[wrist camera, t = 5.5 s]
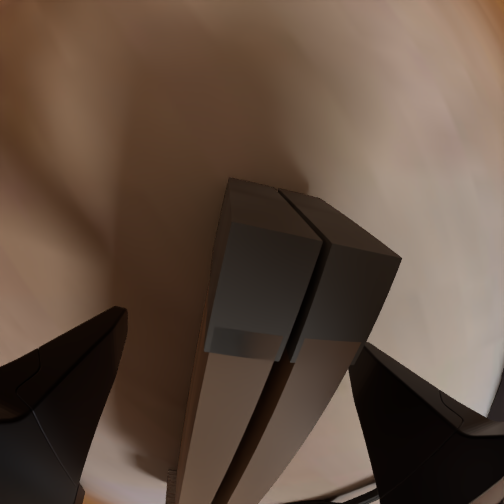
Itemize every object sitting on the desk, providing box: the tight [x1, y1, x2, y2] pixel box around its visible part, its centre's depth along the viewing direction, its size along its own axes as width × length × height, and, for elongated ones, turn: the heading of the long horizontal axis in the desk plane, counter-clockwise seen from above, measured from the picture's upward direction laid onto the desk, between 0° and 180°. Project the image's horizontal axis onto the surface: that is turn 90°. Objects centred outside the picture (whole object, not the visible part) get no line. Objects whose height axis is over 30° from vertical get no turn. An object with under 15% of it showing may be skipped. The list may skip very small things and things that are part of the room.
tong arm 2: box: [175, 177, 323, 504], centre depth 10 cm, size 1×19×6 cm, turn 166°
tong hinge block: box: [166, 470, 177, 504], centre depth 15 cm, size 4×3×3 cm
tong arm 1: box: [211, 189, 402, 504], centre depth 10 cm, size 1×19×6 cm, turn 167°
